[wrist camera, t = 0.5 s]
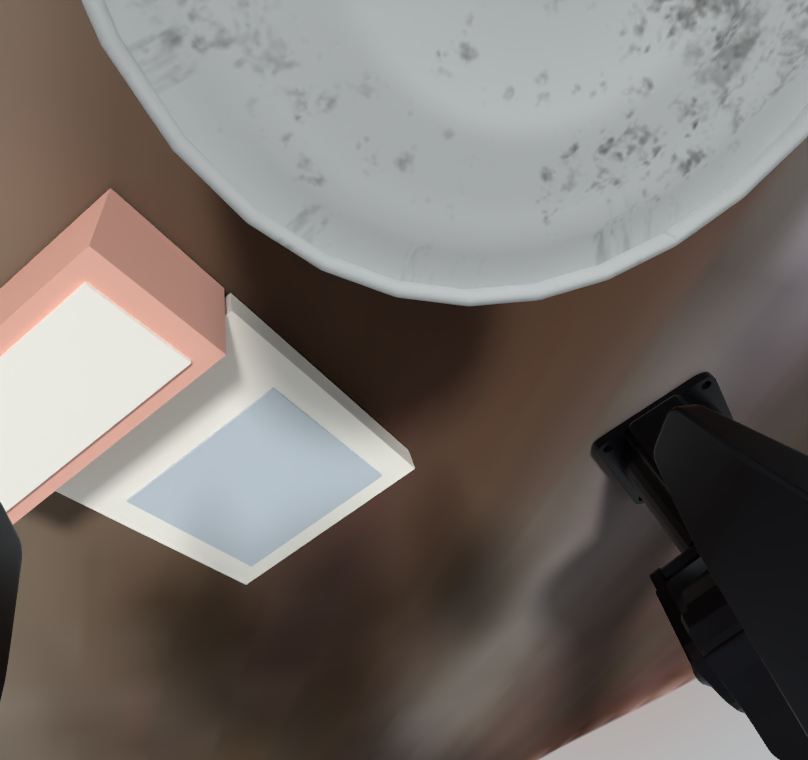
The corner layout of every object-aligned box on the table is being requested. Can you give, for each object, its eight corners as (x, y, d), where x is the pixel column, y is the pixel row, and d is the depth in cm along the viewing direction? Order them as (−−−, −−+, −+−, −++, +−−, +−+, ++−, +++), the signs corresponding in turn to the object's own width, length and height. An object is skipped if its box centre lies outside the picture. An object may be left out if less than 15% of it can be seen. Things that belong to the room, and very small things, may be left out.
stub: (224, 288, 20) (226, 358, 17) (25, 452, 22) (-6, 541, 19) (110, 188, 18) (87, 248, 14) (-105, 384, 20) (-166, 475, 16)
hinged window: (408, 450, 27) (415, 470, 26) (245, 563, 29) (246, 587, 28) (230, 292, 21) (231, 312, 20) (34, 454, 23) (25, 480, 22)
